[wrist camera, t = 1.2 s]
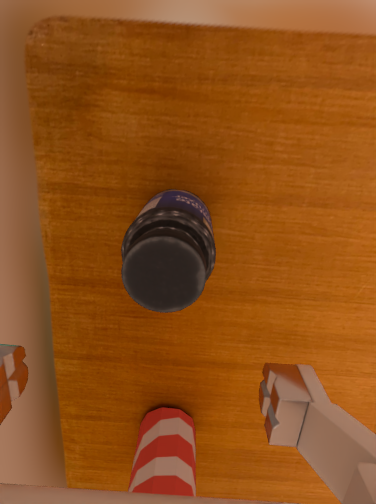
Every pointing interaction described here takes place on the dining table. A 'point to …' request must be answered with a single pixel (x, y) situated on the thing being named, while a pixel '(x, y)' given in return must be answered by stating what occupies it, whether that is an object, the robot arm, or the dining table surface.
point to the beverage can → (165, 454)
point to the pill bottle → (168, 252)
